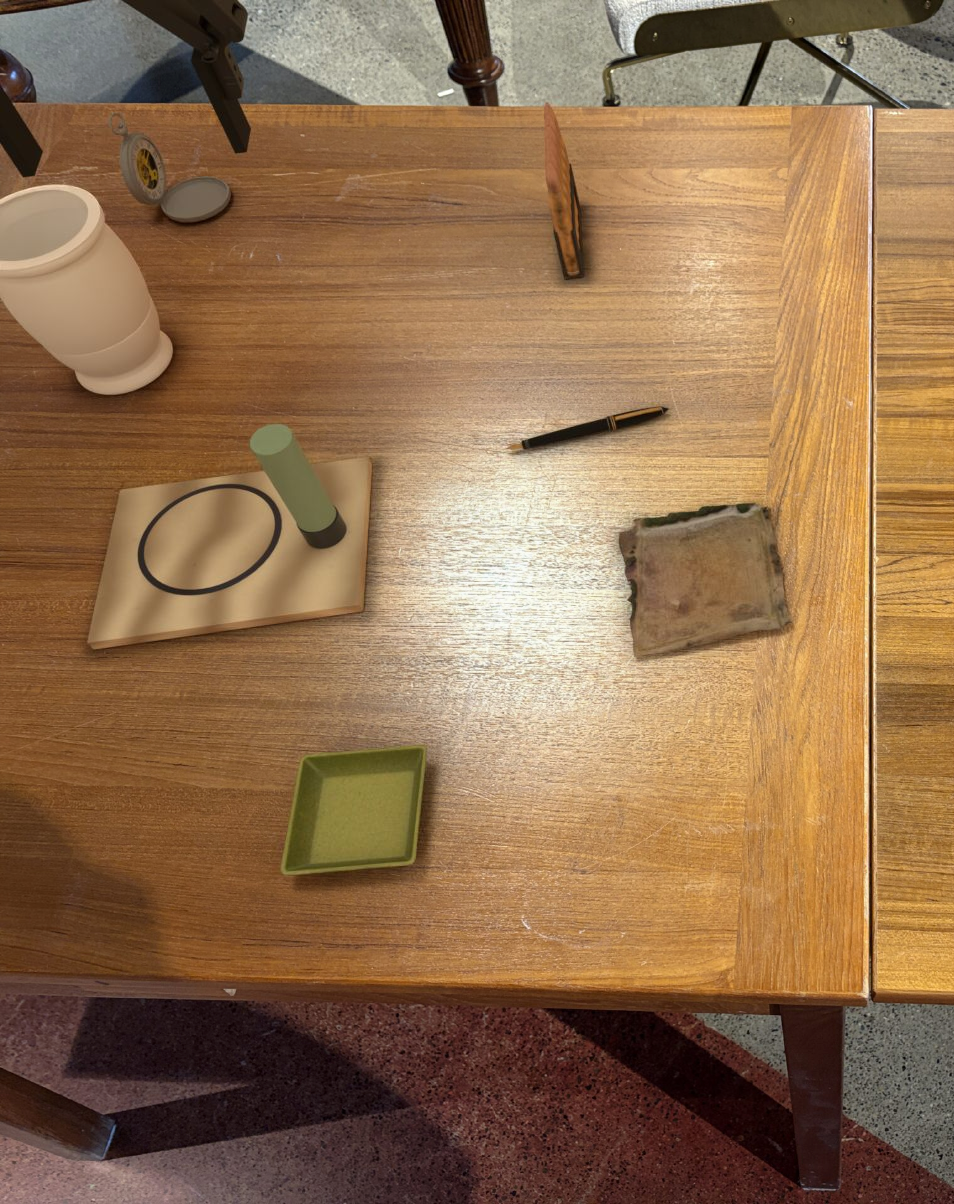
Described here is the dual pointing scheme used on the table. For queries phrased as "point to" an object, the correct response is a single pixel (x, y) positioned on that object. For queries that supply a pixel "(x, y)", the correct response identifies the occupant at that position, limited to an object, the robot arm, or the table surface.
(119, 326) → the jar
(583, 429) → the fountain pen
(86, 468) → the table surface
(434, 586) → the table surface
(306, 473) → the marker
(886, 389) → the table surface
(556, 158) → the brown thin upright slab
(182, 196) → the pocket watch
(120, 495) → the sketch board
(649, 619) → the parchment
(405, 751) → the olive green square tray
